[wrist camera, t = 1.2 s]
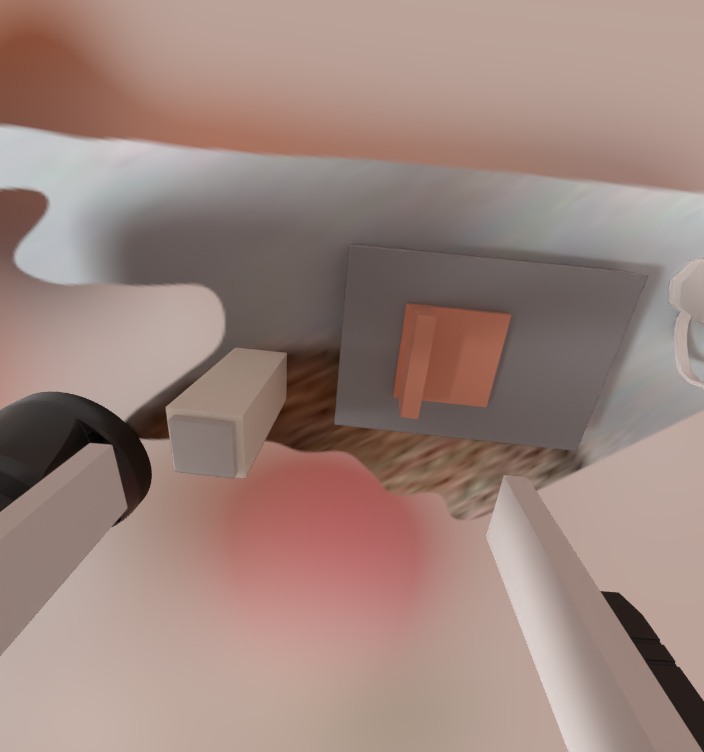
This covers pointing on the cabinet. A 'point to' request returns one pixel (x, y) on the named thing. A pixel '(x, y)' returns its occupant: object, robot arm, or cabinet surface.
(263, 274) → the cabinet surface
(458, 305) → the socket
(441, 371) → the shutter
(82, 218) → the cabinet surface
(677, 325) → the cup
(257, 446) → the plug
